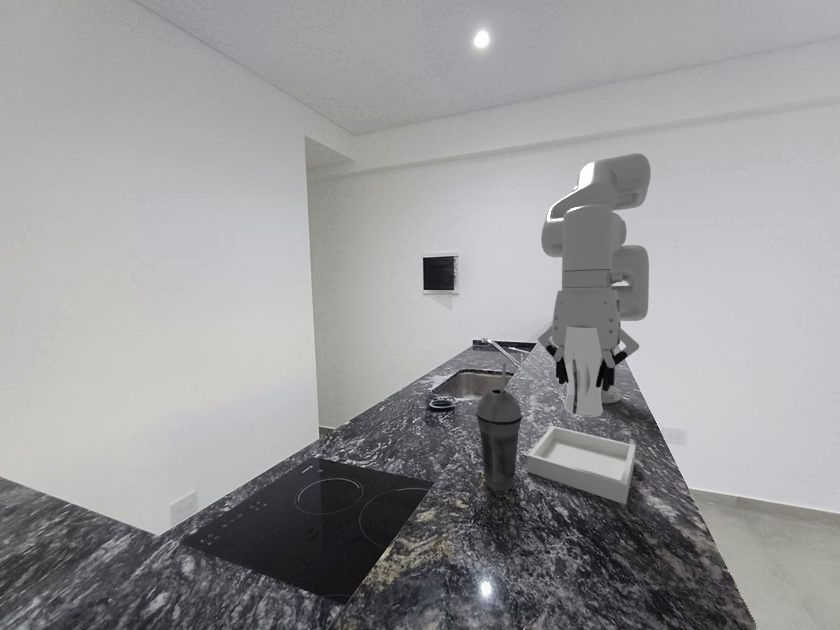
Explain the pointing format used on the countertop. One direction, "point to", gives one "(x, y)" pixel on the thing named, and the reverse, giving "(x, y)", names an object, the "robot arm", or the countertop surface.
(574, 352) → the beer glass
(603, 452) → the tray
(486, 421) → the beverage cup
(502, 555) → the countertop surface
